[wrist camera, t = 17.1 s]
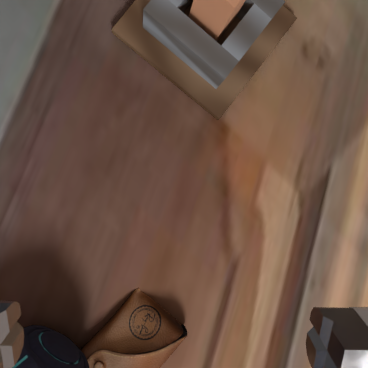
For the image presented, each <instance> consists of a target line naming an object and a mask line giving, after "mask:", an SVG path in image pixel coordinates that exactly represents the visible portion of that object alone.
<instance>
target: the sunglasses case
mask: <svg viewBox="0 0 368 368" xmlns="http://www.w3.org/2000/svg"><path fill="white" fill-rule="evenodd" d="M186 336H187V330H186V328H185V326H184V325H181V324H180V322H179V321H178V320H176V319H175V318H174V317H173V316H172V315H170V314H169V313H168V312H167V311H166V310H164V309H163V308H162V307H161V306H160V305H159V304H157V303H156V302H155V301H154V300H153V299H151V298H150V297H149V296H147V295H146V294H144V293H143V292H141V291H140V289H139V288H137V289H135V290H134V291H133V292H132V294H131V295H130V296H129V298H128V299H127V300H126V301H125V303H124V304H123V305H122V307H121V308H120V309H119V310H118V311H117V313H116V314H115V315H114V316H113V317H112V318H111V319H110V321H109V322H108V323H107V324H106V325H105V326H104V327H103V328H102V329H101V330H100V331H99V332H98V333H97V334H96V335H95V336H94V337H93V338H92V339H91V340H90V341H89V342H88V343H87V344H86V345H85V346H84V347H83V348H82V349H81V351H82V352H83V353H84V355H85V357H86V359H87V361H88V363H89V368H160V367H161V366H162V364H163V363H164V362H165V361H166V360H167V359H168V358H169V356H170V355H171V354H172V353H173V352H174V351H175V349H176V348H177V347H178V346H179V344H180V343H181V342H182V341H183V340H184V339H185V338H186Z"/></svg>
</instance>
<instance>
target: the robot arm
mask: <svg viewBox="0 0 368 368" xmlns="http://www.w3.org/2000/svg"><path fill="white" fill-rule="evenodd" d="M20 316H21V309H20V304H19V303H18V302H16V301H0V368H12V367H14V366H15V364H16V362H17V361H18V359H19V357H20V354H21V351H22V348H23V345H24V329H23V327H22V326H21V325H20V324H19V323H18V322H17V320H18V319H19V317H20ZM310 321H311V323H312V325H313V326H314V327H313V328H312V329H311V330H310V331H309V332H308V333H307V339H306V349H307V356H308V359H309V362H310V364H311V367H312V368H368V307H349V308H326V307H314V308H313V309H312V311H311V315H310Z"/></svg>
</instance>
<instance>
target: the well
mask: <svg viewBox="0 0 368 368" xmlns="http://www.w3.org/2000/svg"><path fill="white" fill-rule="evenodd" d="M192 3H193V0H135V1H134V3H133V4H132V5H131V6H130V7H129V9H128V10H127V11H126V12H125V14H124V15H123V16H122V17H121V18H120V20H119V21H118V22H117V23H116V24H115V26H114V27H113V28H112V33H113V34H114V35H115V36H116V37H118V38H119V39H120V40H121V41H122V42H124V43H125V44H126V45H127V46H129V47H130V48H131V49H132V50H133V51H135V52H136V53H137V54H138V55H139V56H141V57H142V58H143V59H144V60H145V61H147V62H148V63H149V64H150V65H152V66H153V67H154V68H155V69H156V70H158V71H159V72H160V73H161V74H162V75H164V76H165V77H166V78H167V79H168V80H170V81H171V82H172V83H173V84H174V85H176V86H177V87H178V88H179V89H181V90H182V91H183V92H184V93H185V94H187V95H188V96H189V97H190V98H191V99H193V100H194V101H195V102H196V103H197V104H199V105H200V106H201V107H202V108H204V109H205V110H206V111H207V112H208V113H210V114H211V115H212V116H213V117H214V118H216V119H217V120H219V119H220V118H221V116H222V115H223V114H224V112H225V111H226V110H227V109H228V107H229V106H230V105H231V103H232V102H233V101H234V99H235V98H236V97H237V96H238V94H239V93H240V92H241V90H242V89H243V88H244V86H245V85H246V84H247V83H248V81H249V80H250V79H251V77H252V76H253V75H254V73H255V72H256V71H257V70H258V68H259V67H260V66H261V64H262V63H263V62H264V60H265V59H266V58H267V57H268V55H269V54H270V53H271V51H272V50H273V49H274V47H275V46H276V45H277V44H278V42H279V41H280V40H281V38H282V37H283V36H284V34H285V33H286V32H287V31H288V29H289V28H290V27H291V25H292V24H293V23H294V21H295V20H296V19H297V17H295V16H294V15H293V14H292V13H291V12H290V11H289V10H288V9H287V8H286V7H285V6H283V4H284V3H285V1H284V0H246V1H245V2H244V4H243V5H242V7H241V9H240V10H239V12H238V14H237V15H236V17H235V19H234V20H233V22H232V23H231V25H230V26H229V27H228V28H227V30H226V31H225V32H224V33H223V35H222V36H221V37H220V38H219V40H218V41H217V42H216V41H215V40H214V39H213V38H212V37H211V36H210V35H208V34H207V33H206V32H205V31H204V30H203V29H201V28H200V27H199V26H198V25H197V24H196V23H195V22H193V21H192V20H191V19H190V18H189V17H188V16H189V13H190V10H191V7H192Z"/></svg>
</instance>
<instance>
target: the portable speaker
mask: <svg viewBox="0 0 368 368" xmlns="http://www.w3.org/2000/svg"><path fill="white" fill-rule="evenodd" d="M23 329H24V345H23V348H22V351H21V354H20V357H19V359H18V361H17V362H16V364H15V366H14V367H12V368H89V363H88V361H87V359H86V357H85V355H84V353H83V352H82V351H81V350H80V349H79V348H78V347H77V346H76V345H75V344H74V343H73V342H72V341H71V340H70V339H69V338H67V337H66V336H65V335H63V334H61V333H58V332H56V331H54V330H52V329H50V328H47V327H45V326H38V325H31V326H28V327H25V328H23Z"/></svg>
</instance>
